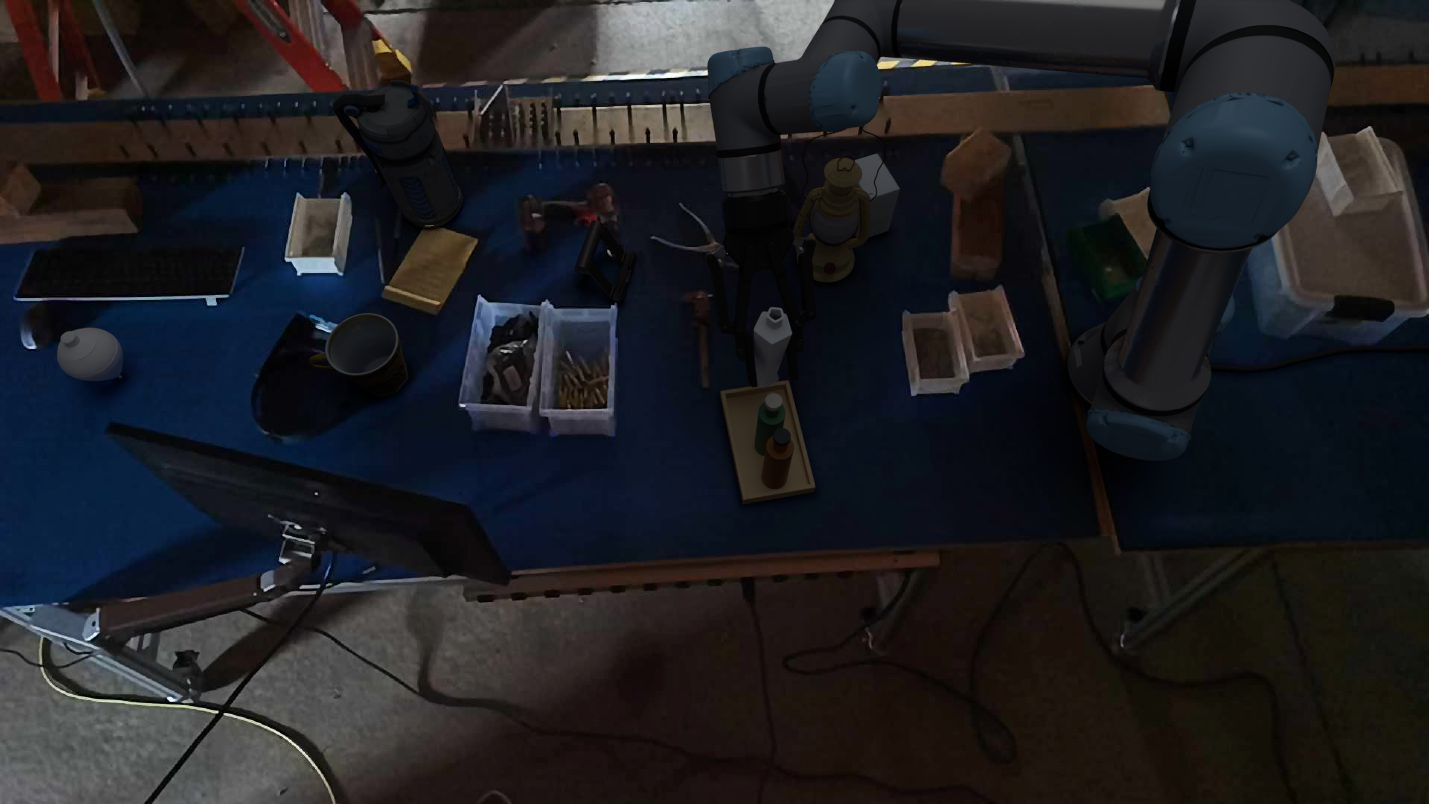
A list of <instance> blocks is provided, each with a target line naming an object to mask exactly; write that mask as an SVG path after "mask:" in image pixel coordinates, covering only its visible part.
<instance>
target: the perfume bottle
mask: <svg viewBox="0 0 1429 804" xmlns="http://www.w3.org/2000/svg"><path fill="white" fill-rule="evenodd" d="M791 335H792V331H791V328H790V322H789V320H788V317H787V314H786V313H784V310H783V309H782V308H781V307H774V306H770V307H769V308H768V310H767V311H762V312H761V314H760V316H759V317H758V319H757V321H756V323H755V326H754V327H753V349H754V358H755V366H756V375H757V384H758V385H759V386H761V387H762V388H765V387H767V386H769V385H771V384H773V383H775V382H779V380H780V379H779V373H778V371H779V369H780V366H781V364H782V362H783V359H784V356H785V354H786V348H787V345H788V343H789V340H790V337H791Z"/></svg>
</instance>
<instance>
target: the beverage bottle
mask: <svg viewBox="0 0 1429 804" xmlns="http://www.w3.org/2000/svg"><path fill="white" fill-rule="evenodd" d="M389 83H390V84H391V85H388V86H387V85H386V86H382V87H380V88H377V89H375V90H373V91H371V92H370V93H368V94H366V95H362V94H359V93H349V94H343V95H340V97H338V98H337V99H336V100H335V101H334V102H333V103H332V110H333V112H334V114H335V117H336V118H337V119H338V121H339V123H340V124H341V125H342V126H343V128H344V129H345V130H346V132H347V133H348V134H349V135H350V137H351V138H352V139H353V140H354V142H355V143H356V144H357V145H358V147H359V148H360V149H361V150H362V152H363V153H364V154H365V156H366V157H367V158H368V159H369V160H370V163H371V164H372V166H373V168H374V170H375V172H376V174H377V175H378V178H379V180H380V186H379V187H380V188H379V189H380V190H382V189H384V187H385V186H386V185H387V187H388V189H389V190H390V193H391V195H392V197H393V198H394V201H395V203H396V205H397V207H398V209H399V211H400V212H401V215H402V216H403V217H404V218H405V219H406V220H407V221H408V222H409V223H411V224H413V225H415V226H418V227H421V228H425V227H424V226H425V225H434V226H435V227H434V228H438V227H441V226H444V225H446V224H448V223H450V222H451V221H452V220H453V219H455V217H457V215H458V214H459V212H460V210H461V207H462V205H463V198H464V197H463V193H462V190H461V187H460V185H459V182H458V179H457V177H456V174H455V171H454V169H453V167H452V164H451V161H450V158H449V156H448V153H447V150H446V149H445V146H444V143H443V141H442V138H441V136H440V133H439V131H438V130H437V128H436V124H435V121H434V114H435V113H434V111H435V109H434V107H433V104H432V101H431V99H430V96H429V95H428V94H427V93H426V92H425V91H424V90H423V89H422V88H421V87H419V86H418V85H417V84H416V85H415V84H412V83H411V82H409V81H405V80H400V79H390V80H389ZM353 119H355V120H356V124H357V125H356V124H355V122H354V121H353Z"/></svg>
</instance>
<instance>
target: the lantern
mask: <svg viewBox="0 0 1429 804" xmlns="http://www.w3.org/2000/svg"><path fill="white" fill-rule="evenodd" d="M859 129H860V130H861V131H862V132H863V133H865V134H868V135H870V136H873V137H875V138H877V139H878V140H880V141H881V142H882V143H883V145H884V149H883V153H884V155H883V160H882V161H883V162H882V164H881V165H880V167H879V168H878V170H877V174H876V177H875V179H874V186H875V189H876V195H875V196H874V197H873V198H872V200H873V199H874V198H875V197H876V196H877V187H876V184H875V181H876V178H877V176H878V172H879V169H880V168H881V166H882V165H883V163H884V164H885V161H886V156H887V143H886V141H885V140H884V139H883V138H881V137H880V136H878V135H876V134H875V133H872V132H869V131H867V130H865V129H864V128H863V126H861V127H859ZM846 130H847V129H843V130H842V131H837V132H827V133H823V134H820V135H817V136H814V137H813V138H810V139H809V140H808V141H806V144H805V145H804V148H803V150H802V155H801V160H802V165H803V167H804V170H805V172H806V177H805V184H804V185H803V188H802V192H801V196H802V198H803V199H805V200H804V202H803V204H802V206H801V209H800V211H799V213H798V215H797V218H796V220H795V223H794V226H793V228H792V232H793V234H794V235H795V236H799V237H803V238H804V237H805V236H803V233H804V230H805V228H806V226H807V222H808V223H809V228H810V230H811V232H810V233H809V234H807V236H806V237H809V238H811V239H813V240H814V241H815V242H816V247H815V251H814V254H813V258H812V264H813V277H814V281H817V282H819V283H834V282H838V281H841V280H843V279H845V278H846V277H847V276H849V275H850V273H851V272H852V271H853V269H854V266H855V261H856V260H855V259H856V258H855V253H854V250H853V249H855V248H859V247H861V246H863V245H864V244H865V243H867V241H868V239H869V238H870V237H869V235H870V222H871V215H870V202H871V201H872V200H871V201H870V196H869V194H868V193H867V192H866V191H864V190H863V189H859V188H856V187H857V186H856V185H857V184H858V183H859V181H860V180H861V178H862V170H861V168H860V166H859V165H858V164H857V163H856V162H855V160H856V159H855V158H854V157H853V156H851V155H844V156H842V157H838V158H834V159H831V160H830V161H828V163H827V164H826V165H825V166H824V169H823V173H824V177H825V181H824V185H823V187H816V188H814V189H812V190H811V191H809V193H808V194H807V196H806V197H805V189H806V187H807V185H808V182H809V181H808V180H809V171H808V168H807V166H806V163H805V151H806V149H807V147H808V145H809V144H810V143H811V142H812V141H814V140H816V139H818V138H821V137H825V136H829V135H833V134H837V133H841V132H843V131H846ZM857 198H859V207H858V203H857V202H858V199H857ZM859 216H860V227H859V236H858V237H854V236H855V234H856V233H857V230H858V224H859ZM856 227H857V229H856ZM855 230H856V231H855ZM854 232H855V233H854ZM796 262H797V263H798V254H797V253H796Z"/></svg>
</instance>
